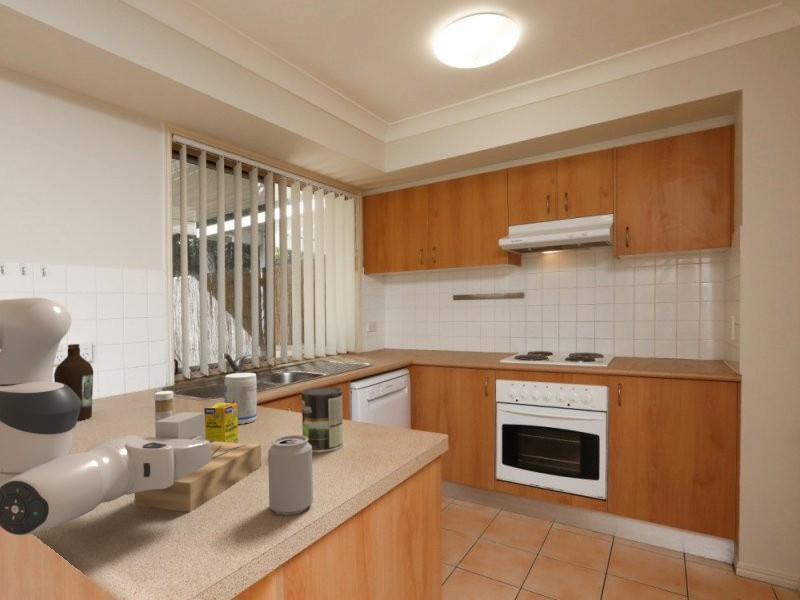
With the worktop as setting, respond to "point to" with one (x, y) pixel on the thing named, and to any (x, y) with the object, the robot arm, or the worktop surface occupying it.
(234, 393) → the supplement tub
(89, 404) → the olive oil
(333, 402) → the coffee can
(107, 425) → the worktop surface
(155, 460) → the robot arm
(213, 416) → the supplement box
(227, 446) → the plank
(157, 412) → the sprinkles bottle
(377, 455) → the worktop surface
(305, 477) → the can
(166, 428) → the block
